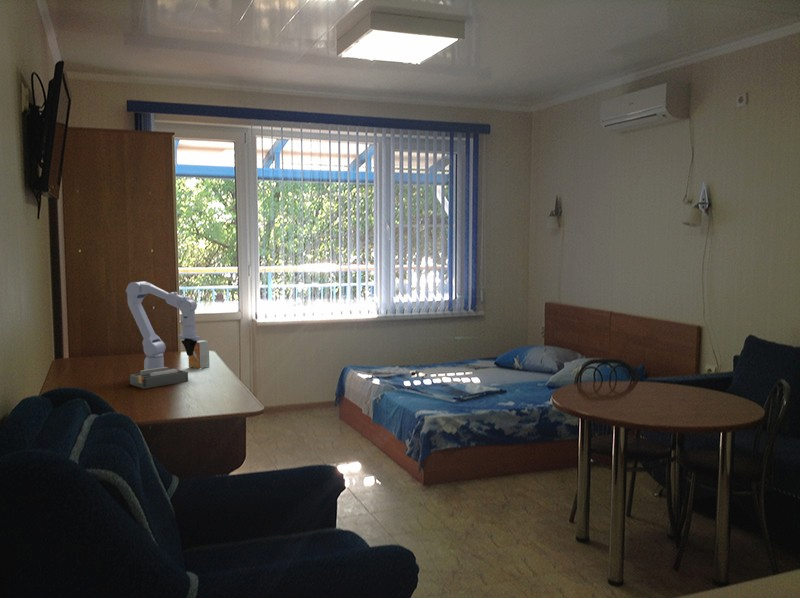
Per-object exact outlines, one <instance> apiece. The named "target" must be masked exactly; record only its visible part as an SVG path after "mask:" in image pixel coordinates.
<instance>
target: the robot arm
mask: <svg viewBox="0 0 800 598" xmlns="http://www.w3.org/2000/svg"><path fill="white" fill-rule="evenodd" d="M125 293H126V294H127V295H126V296H127V306H128V308H129V310H130V312H131V314H132V316H133V319H134V320H135V323H136V325H137V327H138V330H139V332H140V334H141V336H142V338H143V339H142V343H141V344H142V347H143V348H142V349H143V353H144V354H145V356H146V357H145V358H144V360H143V367H144V368H143V370H148V369H155V368H162V367H165V361H164V354H165V351H166V349H167V346H166V343H165V342H164V341H163V340H162V339H161V337H160V336H159V335H158V334H156V332H155V331H154V329H153V326H152V324H151V322H150V319H149V318H148V317H149V316H148V315H147V312H146V311H145V308H144V306H143V305H142V302H143V300H144V298H146V296H147V295H148V294H151V295H153V296H156V297H158V298H160V299H163V300H165V302H166V304H168V305H170V306H172V307H175V308H177V309H178V310H179V311H180V313H181V324H182V325H181V328H182V331H181V332H182V333H181V334H178V335H177V336H178V337H177V338H178V340H181V339H182V340H181V343H182V345H183V347H184V349H185V352H186V356H192V355H193V352H194V348H195V345H196V343H197V341H201V340H202V339H201V336H199V335H197V334H196V333H197V332H196V330H197V329H196V309H197V307H198V305H197V301H195V300H194V299H193V298H188V297H187V296H182V295H180V294H179V292H177V291H172V292H168V291H166V290H164V289H162V288H160V287H158V286H156V285H155V284H152V283H151V282H148V281H144V280H142V281H132V282H129V283H128V285H127V287H126V289H125Z"/></svg>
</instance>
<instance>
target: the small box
mask: <svg viewBox="0 0 800 598" xmlns="http://www.w3.org/2000/svg"><path fill="white" fill-rule="evenodd" d="M200 340H201V341H197V343H196V345H195V348H194V352H193V355H192V356H188V368H191V367H193V368H192V369H199V368H202V369H204V368H203V367H206V366H210V341H209V340H204V339H200ZM206 368H207V367H206Z"/></svg>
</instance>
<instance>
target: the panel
mask: <svg viewBox="0 0 800 598" xmlns="http://www.w3.org/2000/svg"><path fill="white" fill-rule="evenodd" d="M171 369H172V370H166V371H159V372H152V373H149V377H156V376H162V375H169V374H175V373H178V371H177V368H171Z"/></svg>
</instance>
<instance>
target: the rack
mask: <svg viewBox="0 0 800 598" xmlns="http://www.w3.org/2000/svg"><path fill="white" fill-rule="evenodd" d="M172 369H173V368H169V366H164V367H162V368H155V369H148V370H144V369H143V370H140V373H134V374H133V373H132V374H129V385H132V386H135V387H138V388H140V389H149V388H156V387H161V386H167V385H174V384H180V383H186V382H189V373H188V371H185V370H180V369H177V368H176V369H177V371H178V373H175V374H169V375H162V376H156V377H149V373H152V372H159V371H166V370H172Z"/></svg>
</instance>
